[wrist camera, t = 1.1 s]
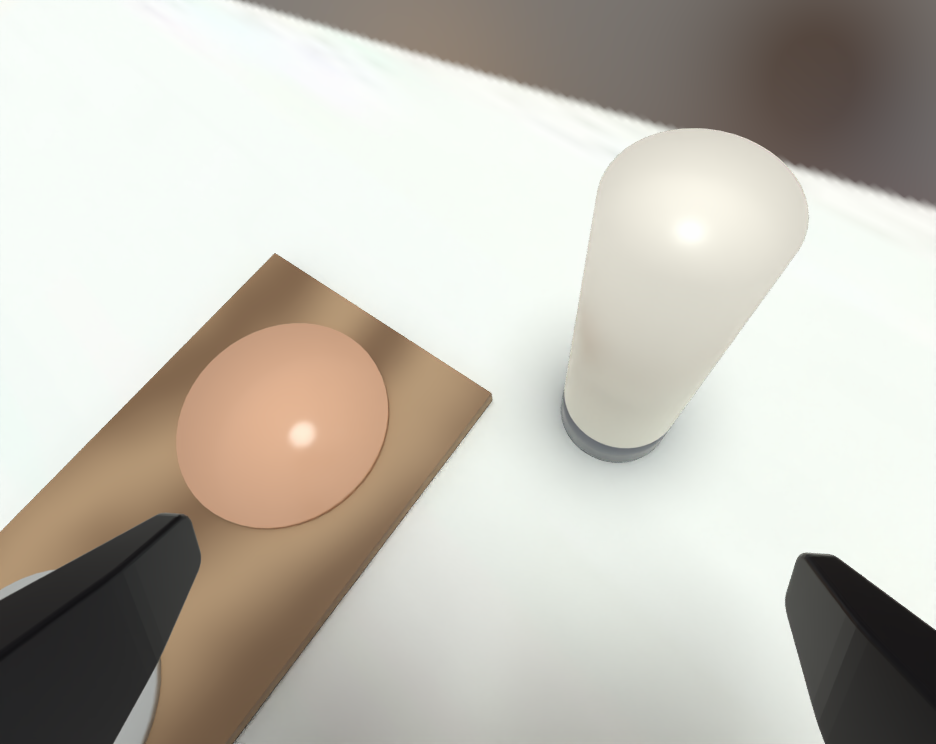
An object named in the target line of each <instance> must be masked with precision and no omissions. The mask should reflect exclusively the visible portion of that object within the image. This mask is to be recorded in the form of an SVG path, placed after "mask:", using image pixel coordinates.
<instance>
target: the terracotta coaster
mask: <svg viewBox="0 0 936 744" xmlns="http://www.w3.org/2000/svg"><path fill="white" fill-rule="evenodd" d="M388 424H389V400H388V394H387V389H386V386H385V383H384V380H383V378H382V376H381V374H380V372H379V370H378V368H377V366H376V364H375V363H374V361H373V360H372V358H371V357H370V355H369V354H368V353H367V352H366V351H365V350H364V349H363V348H362V347H361V346H360V345H359V344H358V343H357V342H355V341H354V340H353V339H352V338H350V337H348V336H346V335H345V334H343V333H341V332H339V331H336V330H334V329H331V328H329V327H325V326H321V325H316V324H308V323H290V324H282V325H276V326H272V327H268V328H265V329H262V330H259V331H256V332H254V333H252V334H249V335H247V336H245V337H243V338H241V339H240V340H238V341H236V342H235V343H233V344H232V345H230V346H229V347H227V348H226V349H225V350H224V351H222V352H221V353H220V354H219V355H218V356H216V357H215V358H214V359H213V360H212V361H211V362H210V363H209V364H208V365H207V367H206V368H205V369H204V370H203V371H202V372H201V374H200V375H199V377H198V378H197V379H196V381H195V382H194V384H193V385H192V387H191V389H190V391H189V393H188V395H187V397H186V399H185V402H184V404H183V407H182V409H181V413H180V417H179V420H178V426H177V434H176V451H177V458H178V463H179V466H180V470H181V473H182V476H183V478H184V480H185V482H186V484H187V486H188V487H189V489H190V490H191V492H192V493H193V495H194V496H195V497H196V498H197V499H198V500H199V501H200V503H201V504H202V505H203V506H205V507H206V508H207V509H209V510H210V511H211V512H213V513H214V514H216V515H218V516H219V517H221V518H223V519H225V520H227V521H230V522H233V523H236V524H239V525H242V526H245V527H251V528H256V529H280V528H288V527H292V526H296V525H301V524H303V523H306V522H309V521H311V520H314V519H316V518H318V517H320V516H322V515H324V514H326V513H328V512H330V511H331V510H333V509H334V508H336V507H337V506H338V505H340V504H341V503H343V502H344V501H345V500H346V499H347V498H348V497H349V496H351V495H352V494H353V493H354V492H355V491H356V490H357V489H358V487H359V486H360V485H361V484H362V483H363V482H364V481H365V479H366V478H367V476H368V475H369V473H370V472H371V471H372V469H373V467H374V465H375V464H376V462H377V460H378V458H379V456H380V453H381V451H382V448H383V446H384V443H385V439H386V435H387V431H388Z"/></svg>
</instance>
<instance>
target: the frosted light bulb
mask: <svg viewBox="0 0 936 744" xmlns="http://www.w3.org/2000/svg"><path fill="white" fill-rule="evenodd" d="M808 220H809V215H808V205H807V201H806V197H805V194H804V192H803V189H802V187H801V185H800V183H799V182H798V180H797V178H796V177H795V175H794V174H793V173H792V172H791V170H790V169H789V168H788V167H787V166H786V165H785V164H784V163H783V162H782V161H781V160H780V159H779V158H778V157H776V156H775V155H774V154H772V153H771V152H770V151H769V150H767V149H765V148H763V147H762V146H760V145H759V144H756V143H754V142H752V141H750V140H748V139H746V138H743V137H740V136H737V135H735V134H731V133H727V132H723V131H718V130H711V129H699V128H690V129H689V128H688V129H676V130H669V131H665V132H660V133H657V134H654V135H651V136H648V137H646V138H643V139H641V140H639V141H637V142H635V143H634V144H632V145H630V146H629V147H627V148H626V149H625V150H623V151H622V152H621V153H620V154H618V155H617V156H616V158H615V159H614V160H613V161H612V162H611V163H610V164H609V166H608V167H607V169H606V170H605V172H604V174H603V176H602V178H601V180H600V183H599V187H598V190H597V196H596V202H595V208H594V214H593V219H592V225H591V231H590V237H589V243H588V249H587V255H586V261H585V267H584V273H583V279H582V285H581V291H580V297H579V303H578V309H577V315H576V321H575V327H574V333H573V338H572V344H571V350H570V356H569V362H568V368H567V374H566V380H565V386H564V392H563V398H562V405H561V415H562V421H563V424H564V427H565V429H566V431H567V433H568V435H569V437H570V438H571V439H572V441H573V442H574V443H575V444H576V445H577V446H578V447H579V448H580V449H581V450H583V451H584V452H585V453H587V454H589V455H591V456H592V457H595V458H597V459H600V460H604V461H608V462H629V461H633V460H636V459H639V458H641V457H643V456H645V455H647V454H648V453H650V452H651V451H652V450H653V449H654V448H655V447H656V446H657V445H658V444H659V443H660V441H661V440H662V439H663V437H664V436H665V434H666V433H667V432H668V430H669V429H670V428H671V426H672V425H673V423H674V422H675V421H676V419H677V418H678V416H679V415H680V414H681V412H682V411H683V410H684V408H685V407H686V405H687V404H688V403H689V401H690V400H691V399H692V397H693V396H694V394H695V393H696V392H697V390H698V389H699V387H700V386H701V385H702V383H703V382H704V381H705V379H706V378H707V376H708V375H709V374H710V372H711V371H712V370H713V368H714V367H715V365H716V364H717V363H718V361H719V360H720V358H721V357H722V356H723V354H724V353H725V352H726V350H727V349H728V347H729V346H730V345H731V343H732V342H733V341H734V339H735V338H736V336H737V335H738V334H739V332H740V331H741V329H742V328H743V327H744V325H745V324H746V323H747V321H748V320H749V318H750V317H751V316H752V314H753V313H754V312H755V310H756V309H757V307H758V306H759V305H760V303H761V302H762V300H763V299H764V298H765V296H766V295H767V294H768V292H769V291H770V289H771V288H772V287H773V285H774V284H775V283H776V281H777V280H778V278H779V277H780V276H781V274H782V273H783V271H784V270H785V269H786V267H787V266H788V265H789V263H790V262H791V260H792V259H793V258H794V256H795V255H796V254H797V252H798V251H799V249H800V247H801V245H802V243H803V241H804V239H805V236H806V232H807V229H808Z"/></svg>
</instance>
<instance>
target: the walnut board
mask: <svg viewBox="0 0 936 744" xmlns="http://www.w3.org/2000/svg"><path fill="white" fill-rule="evenodd" d="M290 323H308V324H316V325H321V326H325V327H329V328H331V329H334V330H336V331H339V332H341V333H343V334H345V335H346V336H348V337H350V338H352V339H353V340H354V341H355V342H357V343H358V344H359V345H360V346H361V347H362V348H363V349H364V350H365V351H366V352H367V353H368V354H369V355H370V357H371V358H372V360H373V361H374V363H375V364H376V366H377V368H378V370H379V372H380V374H381V376H382V378H383V380H384V383H385V386H386V389H387V394H388V400H389V424H388V431H387V435H386V439H385V443H384V446H383V448H382V451H381V453H380V456H379V458H378V460H377V462H376V464H375V465H374V467H373V469H372V471H371V472H370V473H369V475H368V476H367V478H366V479H365V481H364V482H363V483H362V484H361V485H360V486H359V487H358V489H357V490H356V491H355V492H354V493H353V494H352V495H351V496H349V497H348V498H347V499H346V500H345V501H344V502H343V503H341V504H340V505H338V506H337V507H336V508H334V509H333V510H331V511H330V512H328V513H326V514H324V515H322V516H320V517H318V518H316V519H314V520H311V521H309V522H306V523H303V524H301V525H296V526H292V527H288V528H280V529H256V528H251V527H245V526H242V525H239V524H236V523H233V522H230V521H227V520H225V519H223V518H221V517H219V516H218V515H216V514H214V513H213V512H211V511H210V510H209V509H207V508H206V507H205V506H203V505H202V504H201V503H200V501H199V500H198V499H197V498H196V497H195V496H194V495H193V493H192V492H191V490H190V489H189V487H188V486H187V484H186V482H185V480H184V478H183V476H182V473H181V470H180V466H179V463H178V458H177V451H176V434H177V426H178V420H179V417H180V413H181V409H182V407H183V404H184V402H185V399H186V397H187V395H188V393H189V391H190V389H191V387H192V385H193V384H194V382H195V381H196V379H197V378H198V377H199V375H200V374H201V372H202V371H203V370H204V369H205V368H206V367H207V365H208V364H209V363H210V362H211V361H212V360H213V359H214V358H215V357H216V356H218V355H219V354H220V353H221V352H222V351H224V350H225V349H226V348H227V347H229V346H230V345H232V344H233V343H235V342H236V341H238V340H240V339H241V338H243V337H245V336H247V335H249V334H252V333H254V332H256V331H259V330H262V329H265V328H268V327H272V326H276V325H282V324H290ZM491 401H492V394H491V393H490V392H489V391H487V390H486V389H484V388H483V387H481V386H479V385H478V384H476V383H475V382H473V381H472V380H470V379H469V378H467V377H466V376H464V375H463V374H461V373H459V372H458V371H456V370H455V369H453V368H452V367H450V366H449V365H447V364H446V363H444V362H442V361H441V360H439V359H438V358H436V357H435V356H433V355H432V354H430V353H429V352H427V351H425V350H424V349H422V348H421V347H419V346H418V345H416V344H415V343H413V342H412V341H410V340H408V339H407V338H405V337H404V336H402V335H401V334H399V333H398V332H396V331H395V330H393V329H391V328H390V327H388V326H387V325H385V324H384V323H382V322H381V321H379V320H378V319H376V318H374V317H373V316H371V315H370V314H368V313H367V312H365V311H364V310H362V309H361V308H359V307H357V306H356V305H354V304H353V303H351V302H350V301H348V300H347V299H345V298H344V297H342V296H340V295H339V294H337V293H336V292H334V291H333V290H331V289H330V288H328V287H327V286H325V285H324V284H322V283H320V282H319V281H317V280H316V279H314V278H313V277H311V276H310V275H308V274H307V273H305V272H303V271H302V270H300V269H299V268H297V267H296V266H294V265H293V264H291V263H290V262H288V261H286V260H285V259H283V258H282V257H280V256H279V255H277V254H276V253H275V254H274V255H273V256H272V257H271V258H270V259H269V260H268V261H267V262H266V263H265V264H264V265H263V266H262V267H261V268H260V269H259V270H258V271H257V272H256V273H255V274H254V275H253V276H252V277H251V278H250V279H249V280H248V281H247V282H246V283H245V284H244V285H243V286H242V287H241V288H240V289H239V290H238V291H237V292H236V293H235V294H234V295H233V296H232V297H231V298H230V299H229V300H228V301H227V302H226V303H225V304H224V305H223V306H222V307H221V308H220V309H219V310H218V311H217V312H216V313H215V314H214V315H213V316H212V317H211V318H210V320H209V321H208V322H207V323H206V324H205V325H204V326H203V327H202V328H201V329H200V330H199V331H198V332H197V333H196V334H195V335H194V336H193V337H192V338H191V339H190V340H189V341H188V342H187V343H186V344H185V345H184V346H183V347H182V348H181V349H180V350H179V351H178V352H177V353H176V354H175V355H174V356H173V357H172V358H171V359H170V360H169V361H168V362H167V363H166V364H165V365H164V366H163V367H162V368H161V369H160V370H159V371H158V372H157V373H156V374H155V375H154V376H153V377H152V378H151V379H150V380H149V381H148V382H147V383H146V384H145V385H144V387H143V388H142V389H141V390H140V391H139V392H138V393H137V394H136V395H135V396H134V397H133V398H132V399H131V400H130V401H129V402H128V403H127V404H126V405H125V406H124V407H123V408H122V409H121V410H120V411H119V412H118V413H117V414H116V415H115V416H114V417H113V418H112V419H111V420H110V421H109V422H108V423H107V424H106V425H105V426H104V427H103V428H102V429H101V430H100V431H99V432H98V433H97V434H96V435H95V436H94V437H93V438H92V439H91V440H90V441H89V442H88V443H87V444H86V445H85V446H84V447H83V448H82V449H81V450H80V451H79V453H78V454H77V455H76V456H75V457H74V458H73V459H72V460H71V461H70V462H69V463H68V464H67V465H66V466H65V467H64V468H63V469H62V470H61V471H60V472H59V473H58V474H57V475H56V476H55V477H54V478H53V479H52V480H51V481H50V482H49V483H48V484H47V485H46V486H45V487H44V488H43V489H42V490H41V491H40V492H39V493H38V494H37V495H36V496H35V497H34V498H33V499H32V500H31V501H30V502H29V503H28V504H27V505H26V506H25V507H24V508H23V509H22V510H21V511H20V512H19V513H18V514H17V515H16V516H15V517H14V519H13V520H12V521H11V522H10V523H9V524H8V525H7V526H6V527H5V528H4V529H3V530H2V531H1V532H0V590H1V589H3V588H4V587H6V586H8V585H10V584H12V583H14V582H16V581H18V580H20V579H22V578H25V577H28V576H31V575H33V574H36V573H40V572H45V571H49V570H56V569H58V568H60V567H61V566H63V565H65V564H67V563H69V562H71V561H72V560H74V559H76V558H78V557H80V556H82V555H83V554H85V553H87V552H89V551H91V550H93V549H94V548H96V547H98V546H100V545H102V544H104V543H106V542H107V541H109V540H111V539H113V538H115V537H117V536H118V535H120V534H122V533H124V532H126V531H128V530H129V529H131V528H133V527H135V526H137V525H139V524H140V523H142V522H144V521H146V520H148V519H150V518H151V517H153V516H155V515H157V514H160V513H179V514H185V515H187V516H188V517H189V518H190V519H191V521H192V524H193V528H194V531H195V534H196V538H197V541H198V545H199V548H200V551H201V564H200V568H199V571H198V573H197V576H196V578H195V580H194V583H193V585H192V587H191V589H190V592H189V594H188V596H187V599H186V601H185V603H184V606H183V608H182V610H181V612H180V615H179V617H178V619H177V622H176V624H175V626H174V628H173V631H172V633H171V635H170V638H169V640H168V642H167V644H166V647H165V649H164V651H163V653H162V655H161V686H160V694H159V701H158V705H157V709H156V714H155V718H154V721H153V724H152V727H151V730H150V733H149V736H148V738H147V741H146V743H145V744H233V742H234V741H235V740H236V738H237V737H238V736H239V734H240V733H241V732H242V730H243V729H244V728H245V727H246V725H247V724H248V723H249V721H250V720H251V719H252V717H253V716H254V715H255V713H256V712H257V711H258V709H259V708H260V707H261V705H262V704H263V703H264V701H265V700H266V699H267V697H268V696H269V695H270V693H271V692H272V691H273V690H274V688H275V687H276V686H277V684H278V683H279V682H280V680H281V679H282V678H283V676H284V675H285V674H286V672H287V671H288V670H289V668H290V667H291V666H292V664H293V663H294V662H295V660H296V659H297V658H298V656H299V655H300V654H301V653H302V651H303V650H304V649H305V647H306V646H307V645H308V643H309V642H310V641H311V639H312V638H313V637H314V635H315V634H316V633H317V631H318V630H319V629H320V627H321V626H322V625H323V623H324V622H325V621H326V619H327V618H328V617H329V615H330V614H331V613H332V612H333V610H334V609H335V608H336V606H337V605H338V604H339V602H340V601H341V600H342V598H343V597H344V596H345V594H346V593H347V592H348V590H349V589H350V588H351V586H352V585H353V584H354V582H355V581H356V580H357V578H358V577H359V576H360V575H361V573H362V572H363V571H364V569H365V568H366V567H367V565H368V564H369V563H370V561H371V560H372V559H373V557H374V556H375V555H376V553H377V552H378V551H379V549H380V548H381V547H382V545H383V544H384V543H385V541H386V540H387V539H388V537H389V536H390V535H391V534H392V532H393V531H394V530H395V528H396V527H397V526H398V524H399V523H400V522H401V520H402V519H403V518H404V516H405V515H406V514H407V512H408V511H409V510H410V508H411V507H412V506H413V504H414V503H415V502H416V500H417V499H418V498H419V497H420V495H421V494H422V493H423V491H424V490H425V489H426V487H427V486H428V485H429V483H430V482H431V481H432V479H433V478H434V477H435V475H436V474H437V473H438V471H439V470H440V469H441V467H442V466H443V465H444V463H445V462H446V461H447V459H448V458H449V457H450V456H451V454H452V453H453V452H454V450H455V449H456V448H457V446H458V445H459V444H460V442H461V441H462V440H463V438H464V437H465V436H466V434H467V433H468V432H469V430H470V429H471V428H472V426H473V425H474V424H475V422H476V421H477V420H478V419H479V417H480V416H481V415H482V413H483V412H484V411H485V409H486V408H487V407H488V405H489V404H490V403H491Z"/></svg>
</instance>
